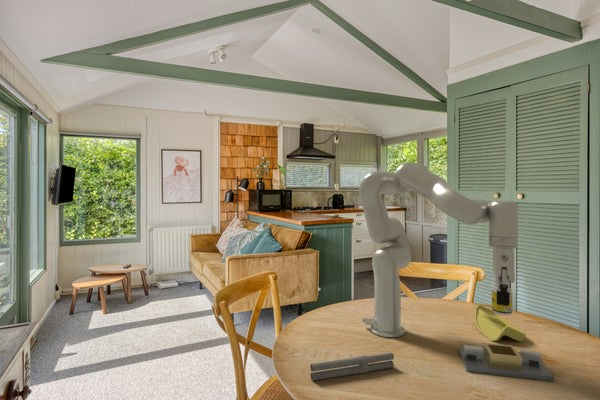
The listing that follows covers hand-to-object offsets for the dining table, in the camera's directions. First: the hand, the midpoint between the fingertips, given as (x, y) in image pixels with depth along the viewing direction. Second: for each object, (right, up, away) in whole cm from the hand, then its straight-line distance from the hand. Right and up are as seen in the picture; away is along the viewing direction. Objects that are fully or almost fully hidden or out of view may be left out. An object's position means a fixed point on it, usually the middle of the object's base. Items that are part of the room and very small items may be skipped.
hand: (501, 301), depth 108 cm
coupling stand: (0, -19, 0) cm, 19 cm away
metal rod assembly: (-45, -20, -4) cm, 50 cm away
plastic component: (+12, -19, +25) cm, 34 cm away
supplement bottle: (0, -4, 0) cm, 4 cm away
